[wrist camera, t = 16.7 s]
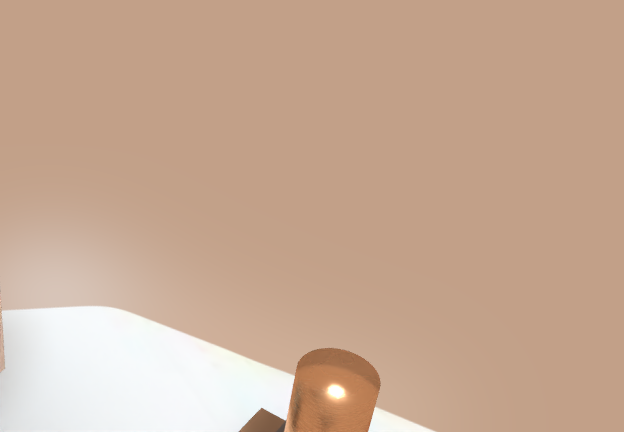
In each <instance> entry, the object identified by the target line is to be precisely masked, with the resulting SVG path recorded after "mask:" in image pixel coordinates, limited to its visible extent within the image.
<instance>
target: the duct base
mask: <svg viewBox="0 0 624 432" xmlns="http://www.w3.org/2000/svg"><path fill="white" fill-rule="evenodd" d="M285 425H286V421H285V420H283V419H281V418H279V417H277V416H275V415H274V414H272V413H270V412H268V411H266V410H264V409H263V408H261V409H260V410H259V411H258V412H257V413H256V414H255V415H254V416H253V417H252V418H251V419H250V420H249V421H248V422H247V424H246V425H245V426H244V427H243V428H242V429H241V430H240V431H239V432H284V430H285Z"/></svg>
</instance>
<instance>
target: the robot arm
mask: <svg viewBox="0 0 624 432" xmlns="http://www.w3.org/2000/svg"><path fill="white" fill-rule="evenodd" d="M3 369H5V362H4V345H3V327H2V309H1V293H0V372H1V371H2V370H3Z"/></svg>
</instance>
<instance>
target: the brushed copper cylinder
mask: <svg viewBox="0 0 624 432" xmlns="http://www.w3.org/2000/svg"><path fill="white" fill-rule="evenodd" d="M379 389H380V378H379V375H378V373H377V371H376V370H375V368H374V367H373V366H372V365H371V364H370V363H369V362H367V361H366V360H365V359H363V358H362V357H360V356H358V355H356V354H354V353H351V352H348V351H345V350H341V349H334V348H325V349H317V350H314V351H311V352H309V353H307V354H305V355H304V356H303V357H302V358H301V359H300V361H299V362H298V365H297V369H296V374H295V379H294V384H293V389H292V395H291V400H290V405H289V410H288V415H287V420H286V425H285V430H284V432H368V430H369V426H370V422H371V419H372V415H373V411H374V408H375V404H376V400H377V397H378V393H379Z"/></svg>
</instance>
